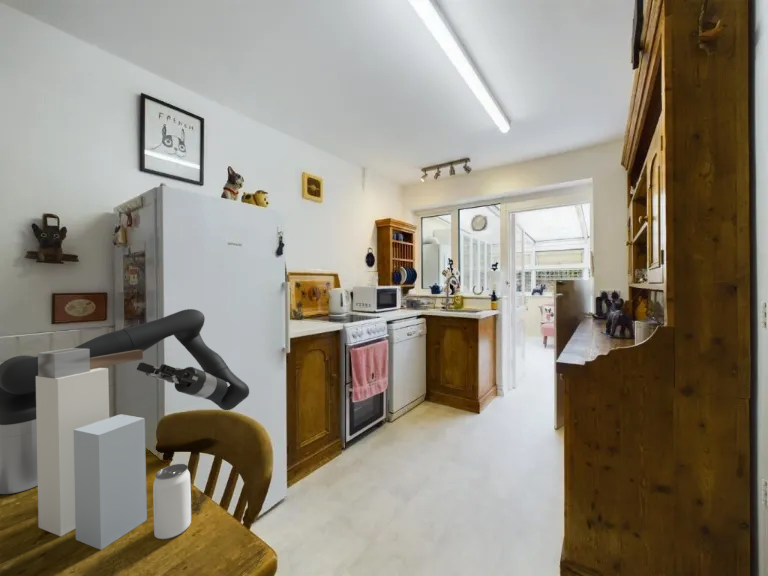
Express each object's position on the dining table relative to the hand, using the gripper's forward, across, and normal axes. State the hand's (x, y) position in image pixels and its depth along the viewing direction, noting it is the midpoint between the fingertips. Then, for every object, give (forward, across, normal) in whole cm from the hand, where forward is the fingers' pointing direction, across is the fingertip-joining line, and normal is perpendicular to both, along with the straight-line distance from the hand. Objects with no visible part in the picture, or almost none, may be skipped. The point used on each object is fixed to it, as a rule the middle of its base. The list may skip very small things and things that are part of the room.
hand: (149, 366), depth 87 cm
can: (-5, +24, +32) cm, 40 cm away
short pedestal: (-1, +12, +34) cm, 36 cm away
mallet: (+11, 0, +4) cm, 12 cm away
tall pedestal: (-1, 0, +34) cm, 34 cm away
